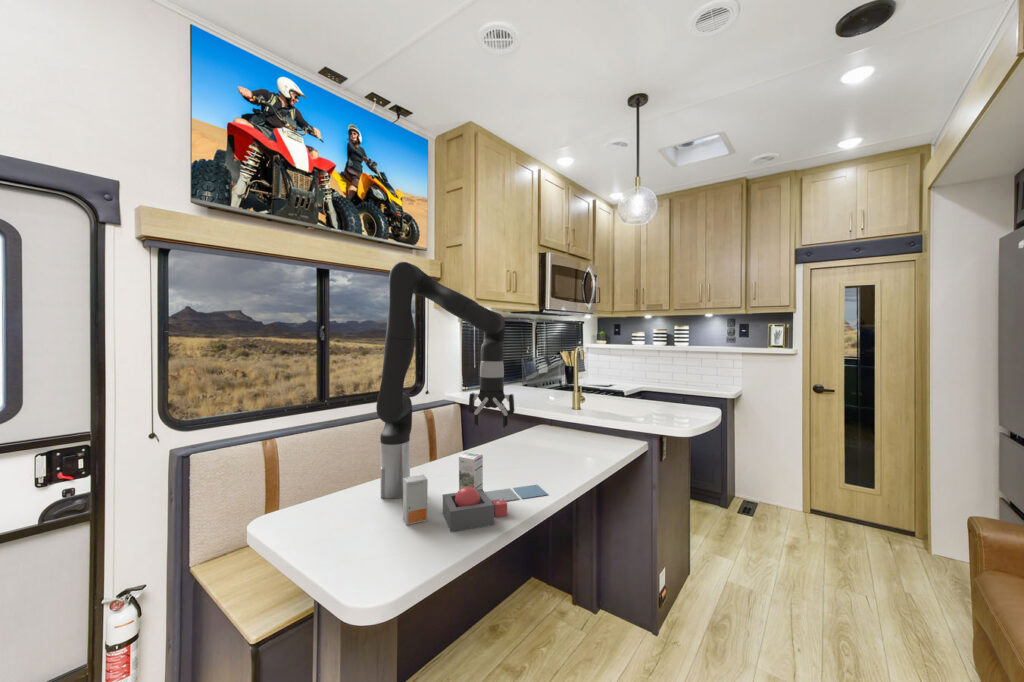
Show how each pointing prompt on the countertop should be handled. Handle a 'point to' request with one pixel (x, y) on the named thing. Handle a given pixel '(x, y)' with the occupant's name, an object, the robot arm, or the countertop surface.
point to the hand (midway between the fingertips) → (491, 426)
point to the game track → (521, 491)
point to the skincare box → (415, 499)
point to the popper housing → (472, 512)
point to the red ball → (467, 497)
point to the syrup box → (471, 470)
